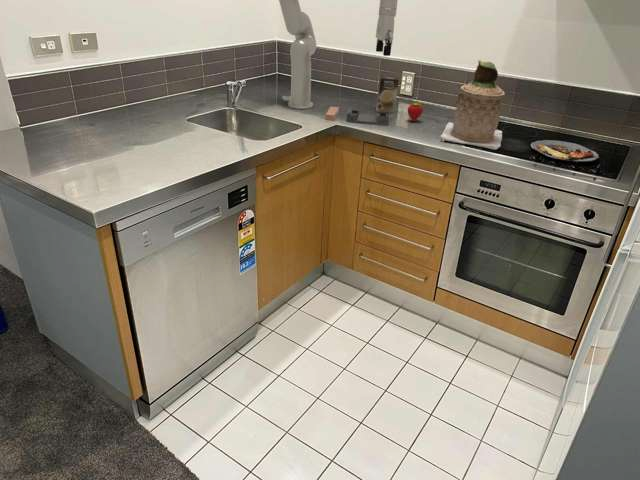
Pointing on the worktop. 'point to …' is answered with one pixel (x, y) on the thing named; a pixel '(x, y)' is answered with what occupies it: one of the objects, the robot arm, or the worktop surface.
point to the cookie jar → (477, 111)
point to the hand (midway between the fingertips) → (382, 53)
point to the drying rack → (367, 118)
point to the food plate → (564, 151)
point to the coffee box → (387, 94)
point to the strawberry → (415, 111)
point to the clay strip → (332, 113)
